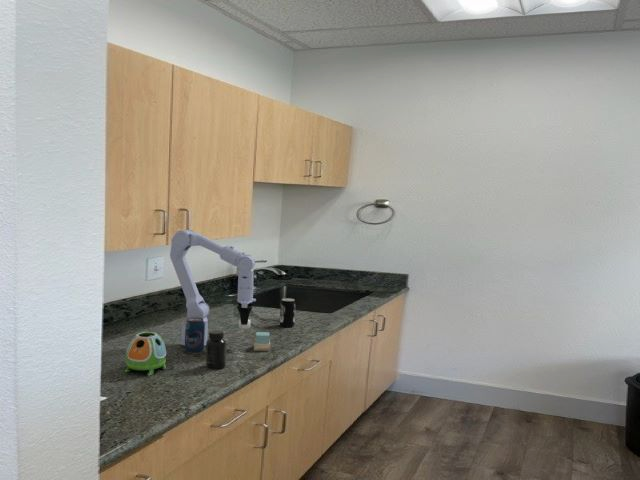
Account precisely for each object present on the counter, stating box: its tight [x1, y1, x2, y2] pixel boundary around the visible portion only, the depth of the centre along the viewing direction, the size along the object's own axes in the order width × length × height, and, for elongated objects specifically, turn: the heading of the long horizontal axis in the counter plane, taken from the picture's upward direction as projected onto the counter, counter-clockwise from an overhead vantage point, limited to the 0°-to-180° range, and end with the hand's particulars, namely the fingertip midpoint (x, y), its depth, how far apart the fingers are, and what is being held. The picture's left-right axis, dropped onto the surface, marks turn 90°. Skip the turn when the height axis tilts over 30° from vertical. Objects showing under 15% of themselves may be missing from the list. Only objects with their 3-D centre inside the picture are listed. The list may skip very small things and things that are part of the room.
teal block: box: [255, 331, 270, 343], centre depth 225 cm, size 5×5×3 cm
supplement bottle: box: [205, 329, 227, 370], centre depth 200 cm, size 7×7×12 cm
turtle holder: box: [125, 331, 167, 377], centre depth 195 cm, size 12×18×12 cm
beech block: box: [253, 338, 271, 352], centre depth 226 cm, size 6×6×3 cm
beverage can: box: [279, 297, 296, 328], centre depth 264 cm, size 7×7×12 cm
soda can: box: [184, 318, 205, 355], centre depth 217 cm, size 7×7×12 cm
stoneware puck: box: [238, 318, 252, 330], centre depth 225 cm, size 4×4×3 cm
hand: (244, 322), depth 225 cm, fingers closed on stoneware puck, 4 cm apart
